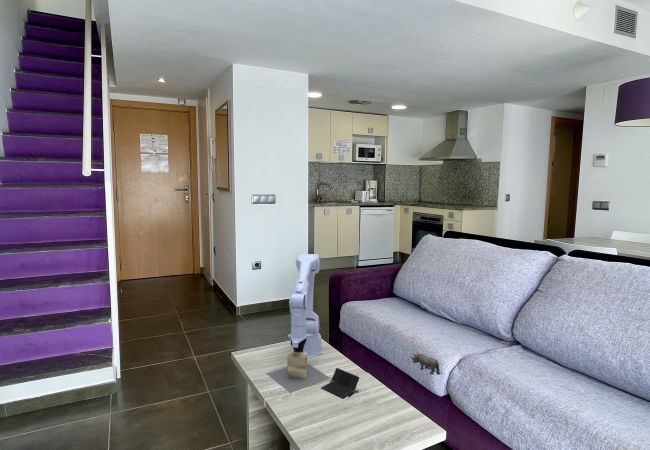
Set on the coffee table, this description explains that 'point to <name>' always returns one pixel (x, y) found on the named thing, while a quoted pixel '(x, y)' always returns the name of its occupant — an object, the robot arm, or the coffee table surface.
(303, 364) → the maple slab
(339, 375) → the handheld gaming console
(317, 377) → the charcoal mat
